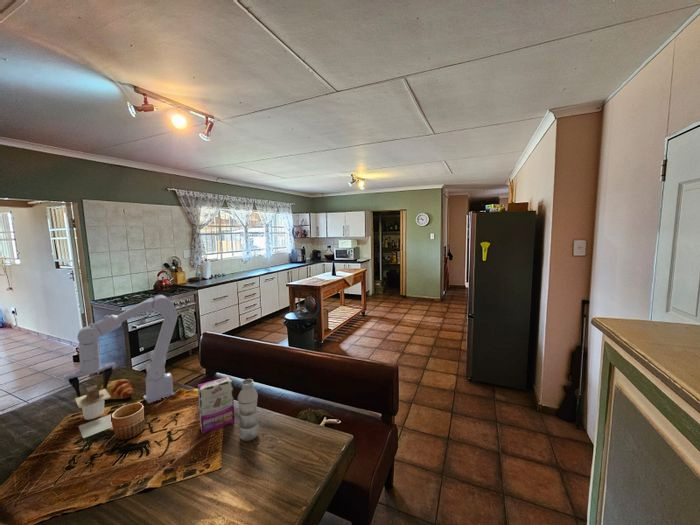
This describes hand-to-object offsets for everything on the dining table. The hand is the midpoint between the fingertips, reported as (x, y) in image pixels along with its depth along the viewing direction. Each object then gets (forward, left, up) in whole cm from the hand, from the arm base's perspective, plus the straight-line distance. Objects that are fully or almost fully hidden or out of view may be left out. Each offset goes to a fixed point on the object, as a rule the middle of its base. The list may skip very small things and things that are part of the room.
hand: (92, 392), depth 110 cm
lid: (0, +1, -2) cm, 3 cm away
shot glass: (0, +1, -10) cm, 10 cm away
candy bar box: (-28, +43, -10) cm, 52 cm away
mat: (0, +10, -9) cm, 14 cm away
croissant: (-10, -13, -10) cm, 19 cm away
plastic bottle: (-32, +58, -10) cm, 67 cm away
